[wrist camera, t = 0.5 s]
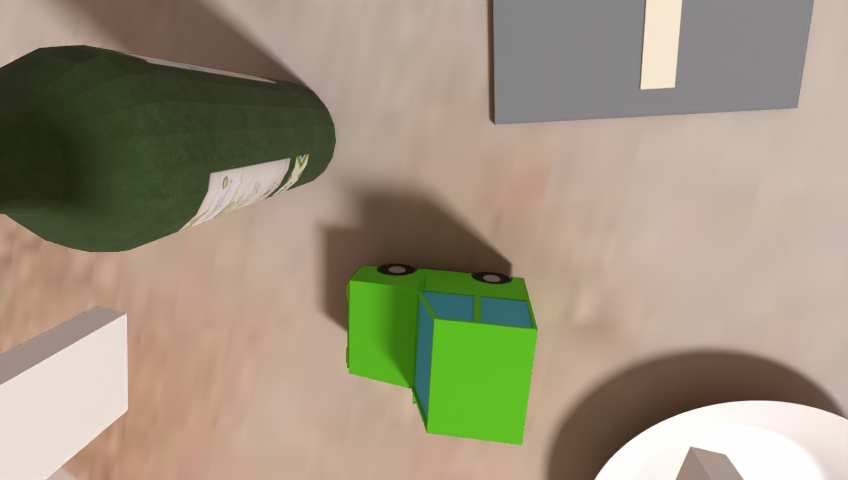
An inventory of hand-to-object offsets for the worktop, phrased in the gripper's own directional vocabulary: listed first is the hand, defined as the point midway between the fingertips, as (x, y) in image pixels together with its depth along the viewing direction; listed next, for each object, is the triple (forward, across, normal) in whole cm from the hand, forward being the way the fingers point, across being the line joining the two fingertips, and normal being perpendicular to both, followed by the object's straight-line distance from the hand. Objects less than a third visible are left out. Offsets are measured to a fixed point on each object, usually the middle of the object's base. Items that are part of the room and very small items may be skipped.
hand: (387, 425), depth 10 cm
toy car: (+26, 0, -9) cm, 28 cm away
